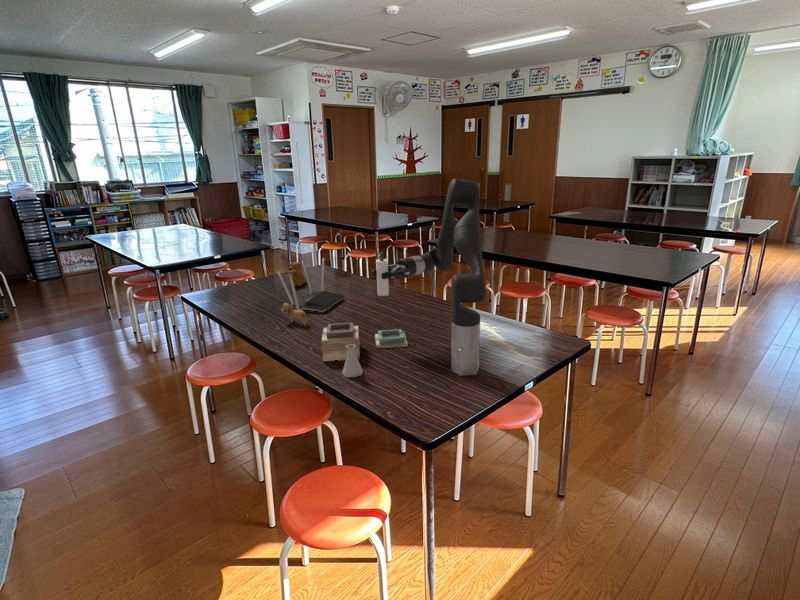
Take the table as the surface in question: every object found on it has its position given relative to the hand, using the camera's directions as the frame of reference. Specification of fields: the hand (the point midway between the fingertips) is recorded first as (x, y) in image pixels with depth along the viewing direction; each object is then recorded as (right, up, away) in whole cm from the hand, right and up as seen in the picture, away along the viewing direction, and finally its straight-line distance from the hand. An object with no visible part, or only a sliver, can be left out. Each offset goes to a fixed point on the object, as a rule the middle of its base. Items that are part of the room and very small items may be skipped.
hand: (377, 274), depth 165 cm
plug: (+2, -7, +4) cm, 8 cm away
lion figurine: (-37, -20, +32) cm, 53 cm away
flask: (-8, -34, -13) cm, 38 cm away
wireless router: (-34, -12, +58) cm, 68 cm away
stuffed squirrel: (-50, -1, +93) cm, 106 cm away
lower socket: (+5, -26, +11) cm, 28 cm away
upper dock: (-13, -29, +2) cm, 32 cm away
